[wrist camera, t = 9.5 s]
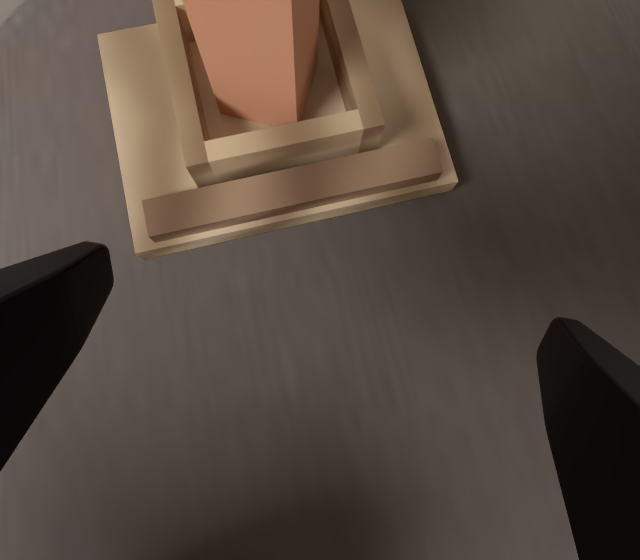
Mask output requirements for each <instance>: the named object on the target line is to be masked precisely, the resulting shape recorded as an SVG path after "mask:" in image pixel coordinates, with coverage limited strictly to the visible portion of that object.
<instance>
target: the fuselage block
mask: <svg viewBox="0 0 640 560" xmlns="http://www.w3.org/2000/svg"><path fill="white" fill-rule="evenodd" d="M182 1H183V4H184V7H185V10H186V13H187V16H188V19H189V22H190V25H191V28H192V31H193V34H194V37H195V40H196V43H197V46H198V49H199V52H200V55H201V57H202V60H203V63H204V66H205V69H206V72H207V75H208V78H209V81H210V84H211V87H212V90H213V93H214V96H215V99H216V102H217V105H218V108H219V111H220V114H224V115H228V116H232V117H236V118H240V119H244V120H248V121H252V122H256V123H260V124H264V125H268V126H272V127H275V126H280V125H284V124H289V123H294V122H299V121H301V119H302V115H303V112H304V108H305V105H306V102H307V98H308V95H309V91H310V88H311V84H312V81H313V78H314V74H315V71H316V67H317V62H318V28H319V0H182Z"/></svg>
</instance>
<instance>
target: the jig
mask: <svg viewBox="0 0 640 560" xmlns="http://www.w3.org/2000/svg"><path fill="white" fill-rule="evenodd" d="M152 2H153V7H154V12H155V17H156V22H157V23H156V24H150V25H145V26H140V27H135V28H129V29H124V30H119V31H114V32H108V33H103V34H98V35H97V36H98V42H99V48H100V53H101V59H102V65H103V71H104V76H105V82H106V88H107V94H108V99H109V105H110V111H111V117H112V122H113V128H114V134H115V140H116V145H117V151H118V157H119V163H120V169H121V174H122V180H123V186H124V192H125V197H126V203H127V209H128V215H129V220H130V226H131V232H132V238H133V243H134V249H135V254H137V255H138V256H140V257H141V258H142V259H149V258H153V257H158V256H162V255H167V254H171V253H176V252H180V251H184V250H189V249H193V248H198V247H202V246H207V245H211V244H216V243H220V242H225V241H229V240H233V239H238V238H242V237H247V236H251V235H256V234H260V233H265V232H269V231H274V230H278V229H283V228H287V227H291V226H296V225H300V224H305V223H309V222H314V221H318V220H323V219H327V218H332V217H336V216H341V215H345V214H349V213H354V212H358V211H363V210H367V209H372V208H376V207H381V206H385V205H390V204H394V203H398V202H403V201H407V200H412V199H416V198H421V197H425V196H430V195H434V194H439V193H443V192H448V191H451V190H452V189H453V188H454V187H455V185H456V184H457V183H458V178H457V175H456V172H455V169H454V166H453V163H452V159H451V156H450V153H449V150H448V147H447V144H446V140H445V137H444V134H443V131H442V128H441V125H440V121H439V118H438V115H437V112H436V109H435V106H434V102H433V99H432V96H431V93H430V90H429V87H428V83H427V80H426V77H425V74H424V71H423V68H422V64H421V61H420V58H419V55H418V52H417V49H416V45H415V42H414V39H413V36H412V33H411V30H410V26H409V23H408V20H407V17H406V14H405V11H404V7H403V4H402V1H401V0H319V28H318V62H317V67H316V71H315V74H314V78H313V81H312V84H311V88H310V91H309V95H308V98H307V102H306V105H305V108H304V112H303V115H302V119H301V121H299V122H294V123H289V124H284V125H280V126H275V127H272V126H268V125H264V124H260V123H256V122H252V121H248V120H244V119H240V118H236V117H232V116H228V115H224V114H220V111H219V108H218V105H217V102H216V99H215V96H214V93H213V90H212V87H211V84H210V81H209V78H208V75H207V72H206V69H205V66H204V63H203V60H202V57H201V55H200V52H199V49H198V46H197V43H196V40H195V37H194V34H193V31H192V28H191V25H190V22H189V19H188V16H187V13H186V10H185V7H184V4H183V1H182V0H152Z"/></svg>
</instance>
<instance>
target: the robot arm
mask: <svg viewBox="0 0 640 560" xmlns="http://www.w3.org/2000/svg"><path fill="white" fill-rule="evenodd" d="M113 282H114V278H113V271H112V265H111V260H110V254H109V250H108V248H107V246H106V245H104V244H100V243H94V242H88V241H85V242H81V243H78V244H75V245H72V246H69V247H66V248H63V249H60V250H57V251H54V252H51V253H47V254H44V255H41V256H38V257H35V258H32V259H29V260H26V261H23V262H20V263H17V264H14V265H11V266H8V267H5V268H2V269H0V471H1V470H2V468H3V467H4V465H5V464H6V462H7V461H8V459H9V458H10V456H11V455H12V453H13V452H14V450H15V449H16V447H17V446H18V444H19V443H20V441H21V440H22V438H23V436H24V435H25V433H26V432H27V430H28V429H29V427H30V426H31V424H32V423H33V421H34V420H35V418H36V417H37V415H38V414H39V412H40V411H41V409H42V408H43V406H44V405H45V403H46V402H47V400H48V399H49V397H50V396H51V394H52V393H53V391H54V390H55V388H56V387H57V385H58V384H59V382H60V381H61V379H62V378H63V376H64V375H65V373H66V372H67V370H68V369H69V367H70V365H71V364H72V362H73V361H74V359H75V358H76V356H77V355H78V353H79V352H80V350H81V348H82V347H83V345H84V343H85V341H86V339H87V337H88V335H89V333H90V331H91V329H92V327H93V326H94V324H95V322H96V320H97V318H98V316H99V314H100V312H101V310H102V308H103V306H104V304H105V302H106V300H107V298H108V296H109V294H110V292H111V290H112V287H113ZM537 367H538V375H539V383H540V390H541V398H542V406H543V414H544V420H545V426H546V431H547V435H548V440H549V443H550V447H551V451H552V455H553V459H554V463H555V467H556V471H557V475H558V479H559V483H560V487H561V490H562V494H563V498H564V502H565V506H566V510H567V514H568V518H569V522H570V526H571V530H572V534H573V537H574V541H575V545H576V549H577V553H578V557H579V560H640V366H638V365H637V364H636V363H634V362H633V361H632V360H630V359H629V358H628V357H626V356H625V355H624V354H622V353H621V352H620V351H618V350H617V349H616V348H614V347H613V346H612V345H610V344H609V343H608V342H606V341H605V340H604V339H602V338H601V337H600V336H598V335H597V334H596V333H594V332H593V331H592V330H590V329H589V328H588V327H586V326H585V325H584V324H582V323H581V322H580V321H578V320H574V319H568V318H561V317H557V318H555V319H553V320H552V322H551V323H550V325H549V327H548V329H547V331H546V333H545V335H544V337H543V339H542V341H541V343H540V345H539V347H538V350H537Z"/></svg>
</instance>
